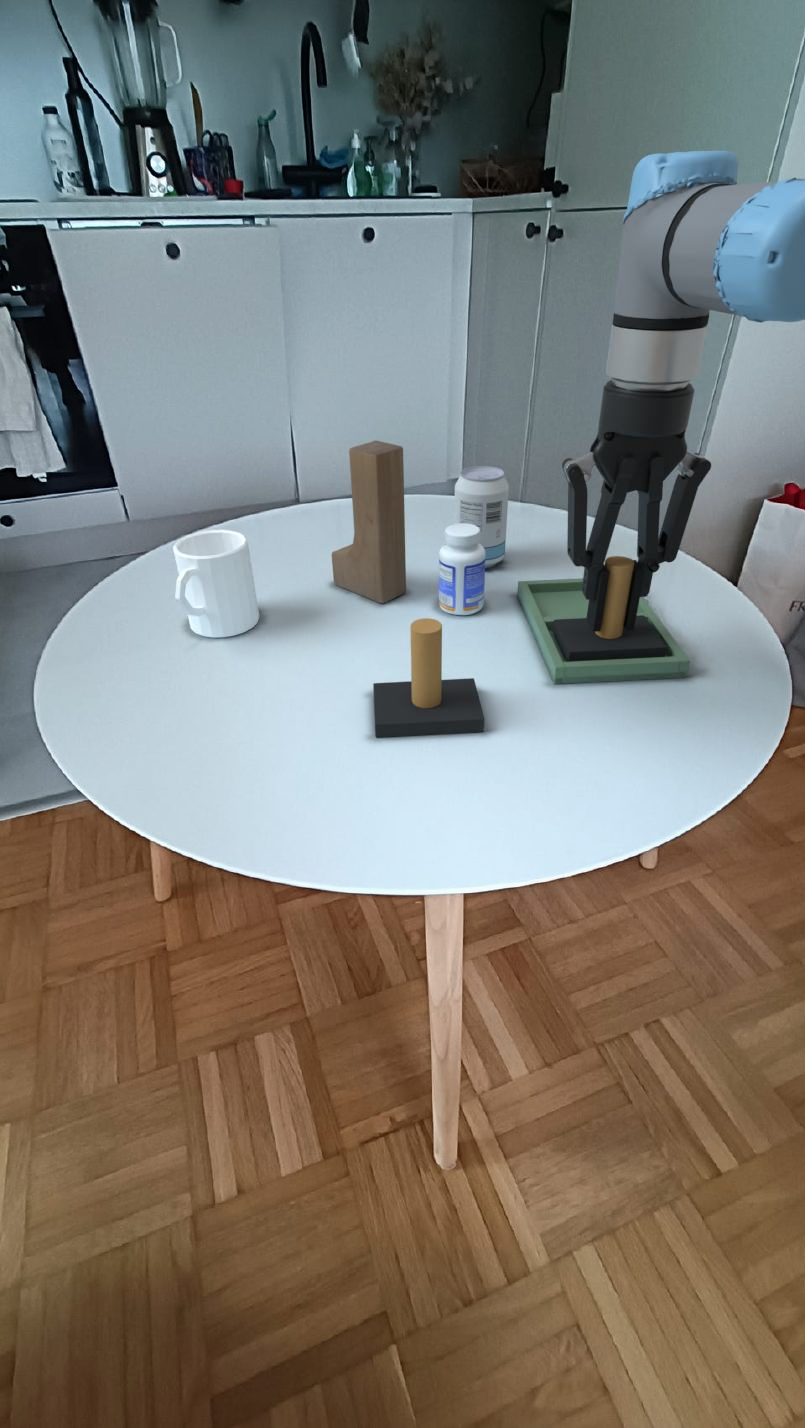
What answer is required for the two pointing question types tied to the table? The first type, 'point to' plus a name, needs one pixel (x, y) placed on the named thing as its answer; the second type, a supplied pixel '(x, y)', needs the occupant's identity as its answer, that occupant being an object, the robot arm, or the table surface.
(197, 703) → the table surface
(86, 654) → the table surface
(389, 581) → the wooden block
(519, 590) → the pad holder
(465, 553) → the pill bottle
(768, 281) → the robot arm
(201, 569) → the mug
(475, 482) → the beverage can
